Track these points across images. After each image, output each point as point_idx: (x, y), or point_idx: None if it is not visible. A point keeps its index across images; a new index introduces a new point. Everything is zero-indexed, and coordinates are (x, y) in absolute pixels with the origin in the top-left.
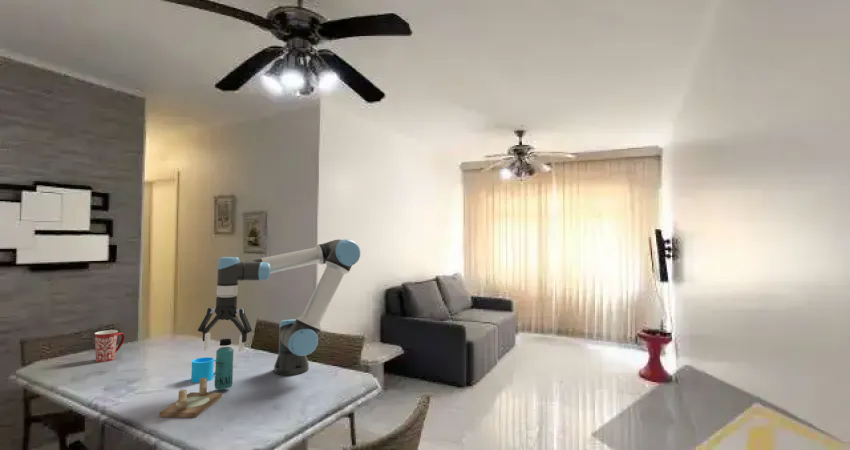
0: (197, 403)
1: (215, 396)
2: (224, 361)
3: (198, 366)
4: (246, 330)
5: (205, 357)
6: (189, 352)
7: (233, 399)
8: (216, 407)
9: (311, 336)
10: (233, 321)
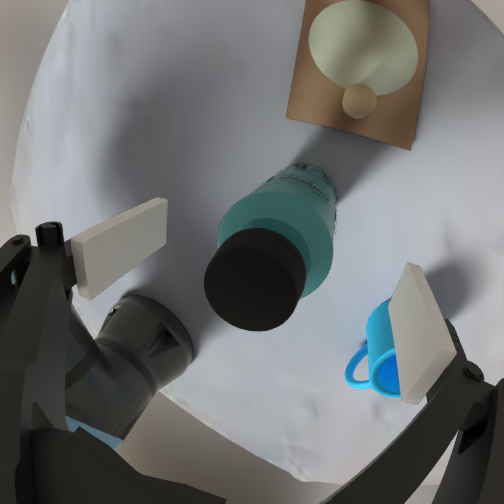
0: (340, 25)
1: (300, 83)
2: (272, 182)
3: None
4: (18, 246)
5: (398, 396)
6: None
7: (241, 94)
8: (277, 30)
9: None
10: (26, 359)
